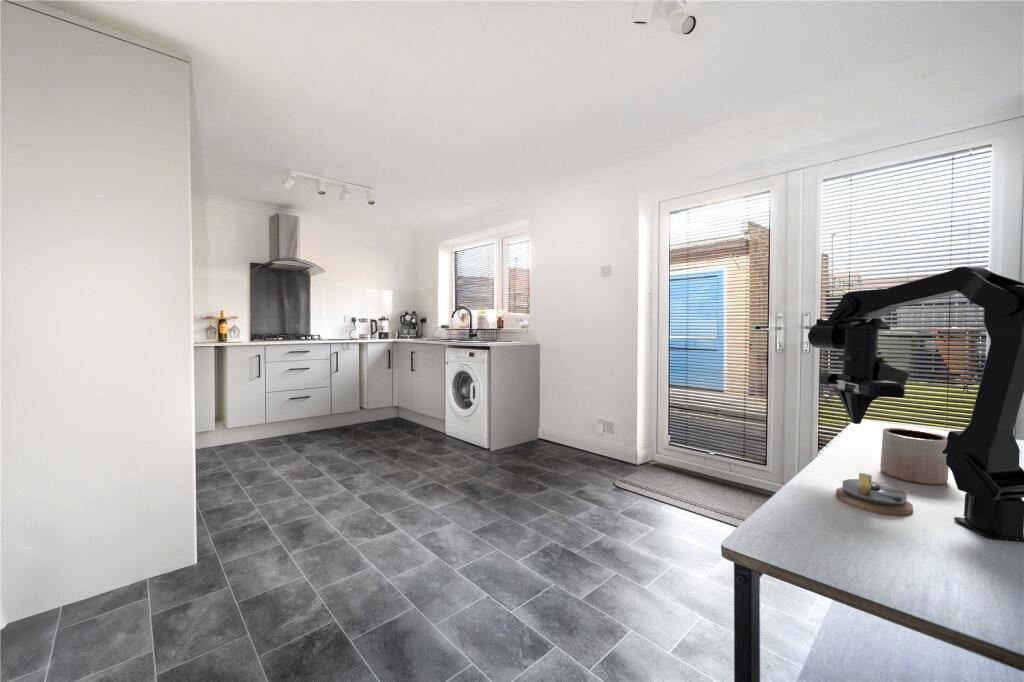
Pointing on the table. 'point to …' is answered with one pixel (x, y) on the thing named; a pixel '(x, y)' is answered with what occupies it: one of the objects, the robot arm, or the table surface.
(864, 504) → the stand
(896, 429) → the planter
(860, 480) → the dial
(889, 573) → the table surface
